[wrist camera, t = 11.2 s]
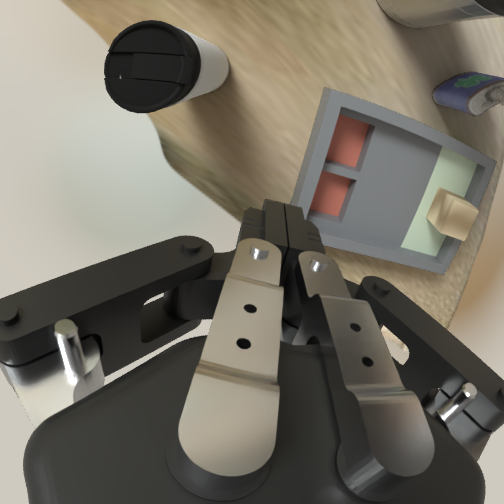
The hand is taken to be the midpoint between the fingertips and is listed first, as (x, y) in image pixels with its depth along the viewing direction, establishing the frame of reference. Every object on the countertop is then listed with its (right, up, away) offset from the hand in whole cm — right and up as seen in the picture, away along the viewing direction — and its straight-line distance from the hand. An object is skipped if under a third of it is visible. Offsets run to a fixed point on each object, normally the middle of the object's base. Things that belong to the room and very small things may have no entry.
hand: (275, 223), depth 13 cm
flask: (+26, +20, +18) cm, 37 cm away
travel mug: (-6, +20, +20) cm, 29 cm away
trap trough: (+17, +8, +26) cm, 32 cm away
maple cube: (+25, +5, +24) cm, 35 cm away
